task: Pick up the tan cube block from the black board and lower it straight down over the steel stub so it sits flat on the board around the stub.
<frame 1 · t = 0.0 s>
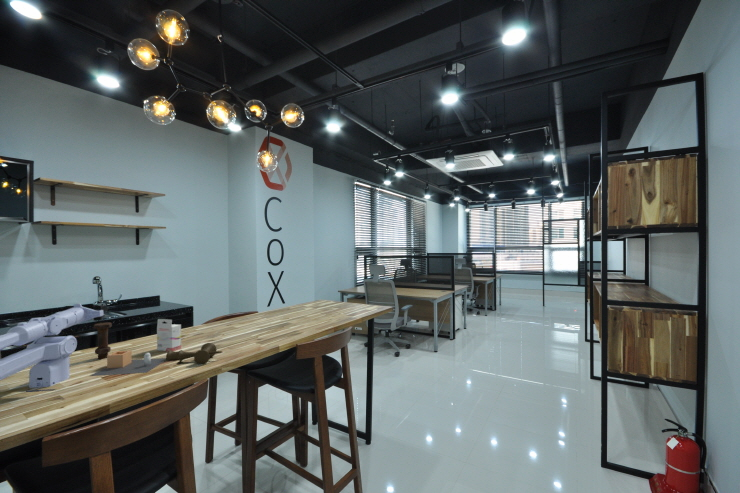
hand: (95, 308, 125), 22 cm above the table, tool horizontal, fingers open, 7 cm apart
tan cube block: (119, 365, 120), point 1 cm above the table, touching board
bolt: (102, 362, 129), on the table
kendama: (195, 362, 128), on the table
board: (132, 370, 118), on the table
ink cartridge box: (169, 353, 139), on the table
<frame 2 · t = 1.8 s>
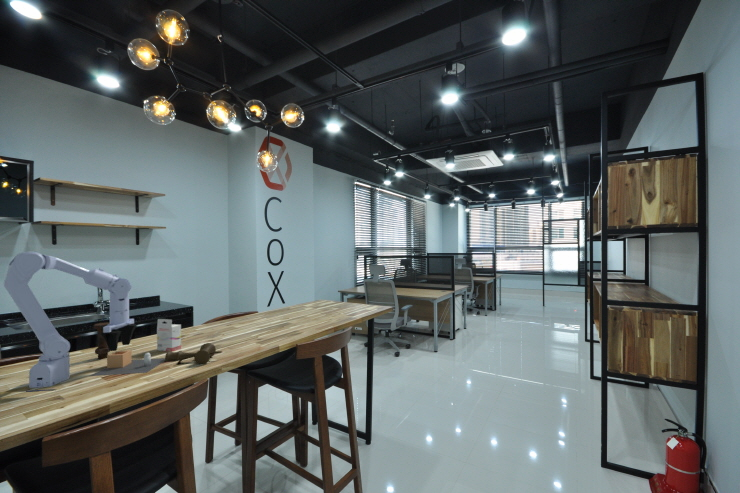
hand: (119, 347, 120), 8 cm above the table, tool pointing down, fingers open, 7 cm apart
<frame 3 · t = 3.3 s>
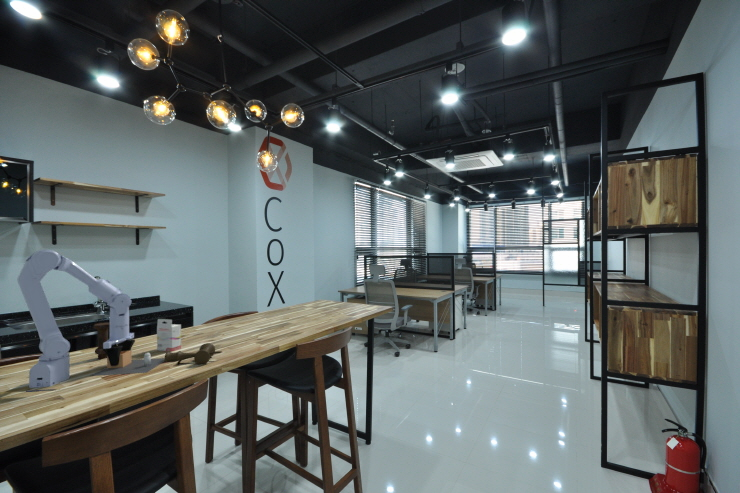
hand: (119, 362, 120), 2 cm above the table, tool pointing down, fingers closed on tan cube block, 5 cm apart
tan cube block: (119, 365, 120), point 1 cm above the table, touching board, gripper
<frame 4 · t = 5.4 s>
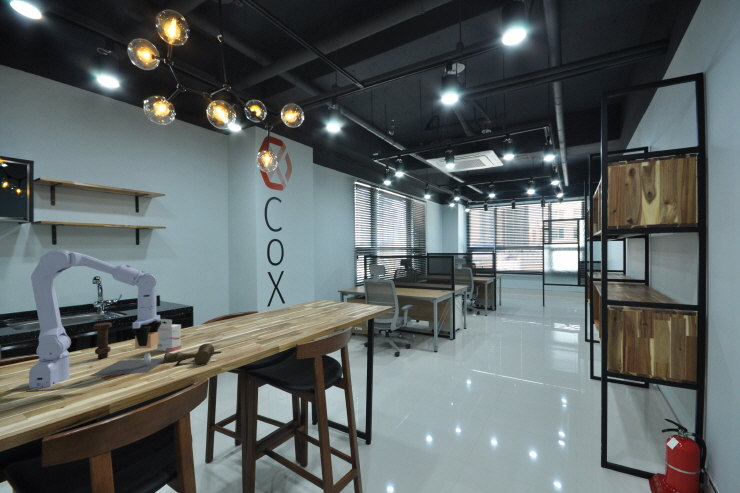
hand: (147, 343, 119), 9 cm above the table, tool pointing down, fingers closed on tan cube block, 5 cm apart
tan cube block: (147, 346, 119), point 8 cm above the table, touching gripper
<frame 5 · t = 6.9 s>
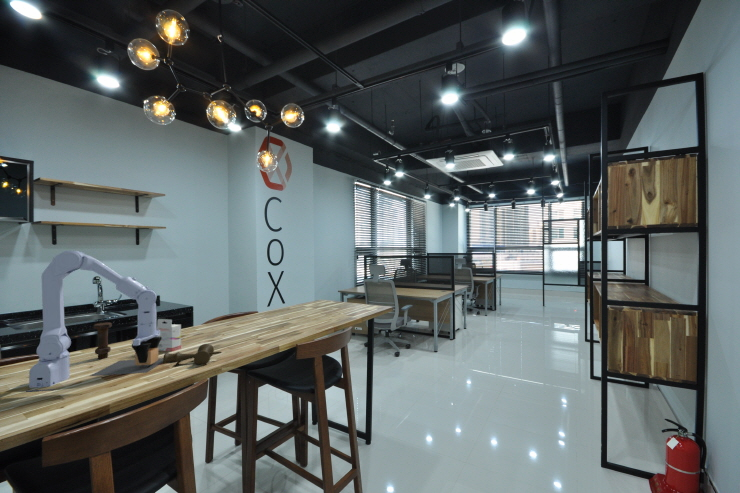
hand: (147, 360, 119), 3 cm above the table, tool pointing down, fingers closed on tan cube block, 5 cm apart
tan cube block: (147, 362, 119), point 2 cm above the table, touching gripper
when the fingers open (3 cm above the table, at t = 7.9 s): tan cube block stays where it is, resting on board.
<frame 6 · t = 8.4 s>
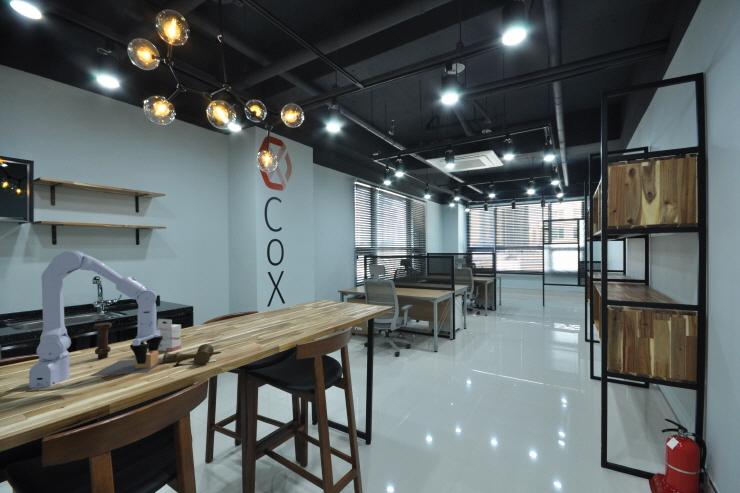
hand: (147, 360, 119), 3 cm above the table, tool pointing down, fingers open, 7 cm apart
tan cube block: (147, 365, 119), point 1 cm above the table, touching board
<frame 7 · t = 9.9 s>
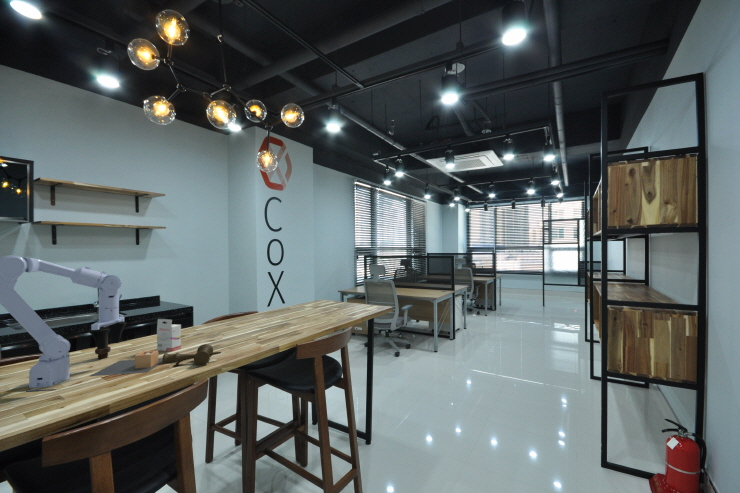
hand: (108, 345, 117), 9 cm above the table, tool pointing down, fingers open, 7 cm apart
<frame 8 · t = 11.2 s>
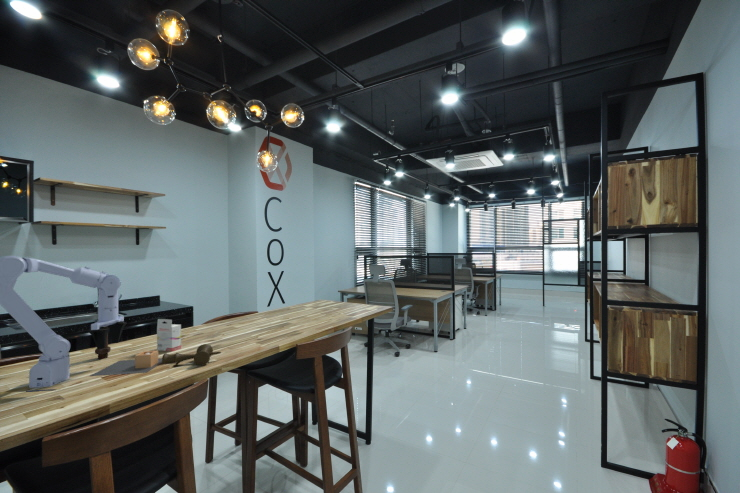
hand: (108, 345, 117), 9 cm above the table, tool pointing down, fingers open, 7 cm apart
at the end: tan cube block 0.1 cm from the target spot on the board, point 1.5 cm above the board's base; tan cube block tilted 0°; the gripper is holding nothing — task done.
